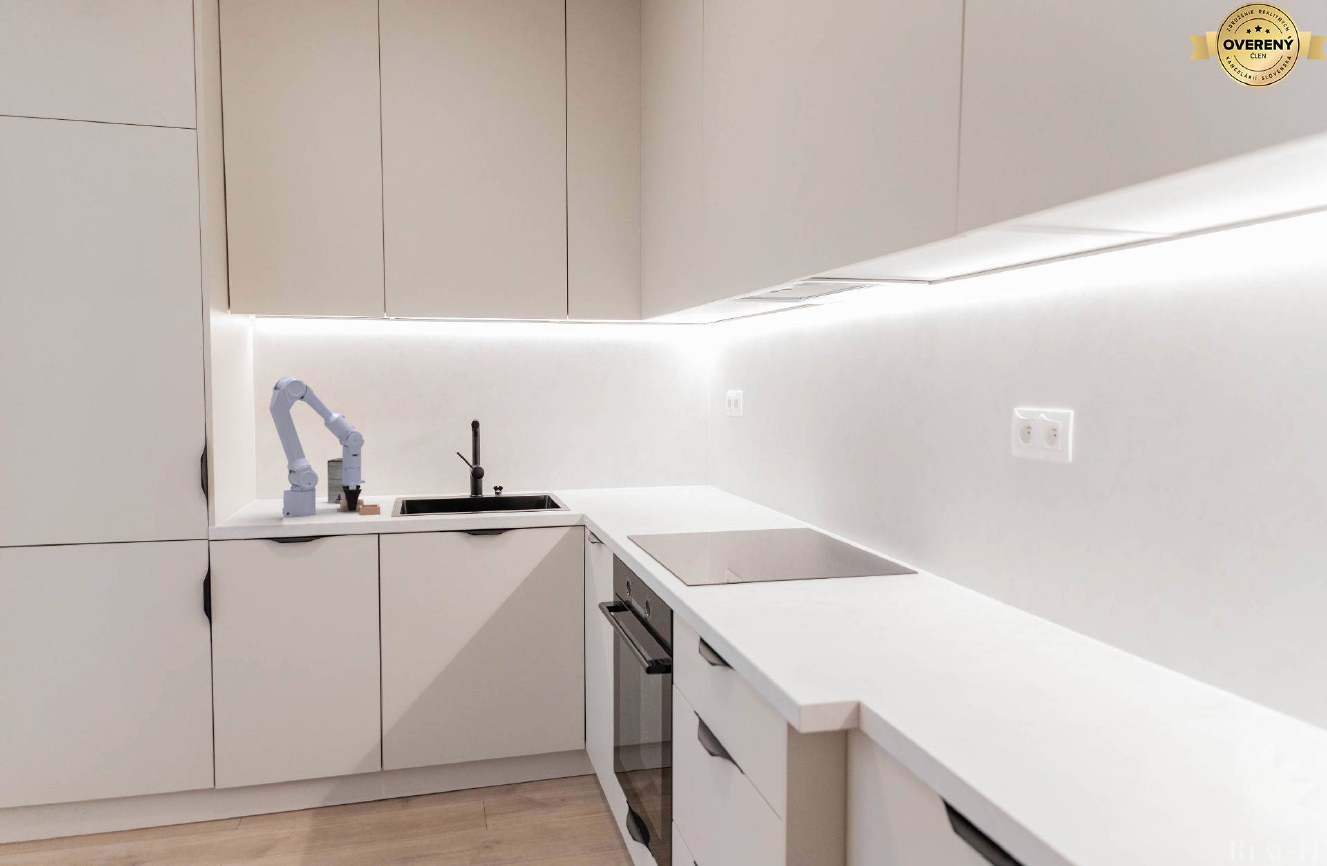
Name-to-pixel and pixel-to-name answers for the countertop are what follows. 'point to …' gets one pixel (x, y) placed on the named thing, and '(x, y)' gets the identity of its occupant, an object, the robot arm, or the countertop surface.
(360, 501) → the tan rectangular block
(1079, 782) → the countertop surface
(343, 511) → the mat
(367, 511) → the pink square tray
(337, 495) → the coffee box
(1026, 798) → the countertop surface
